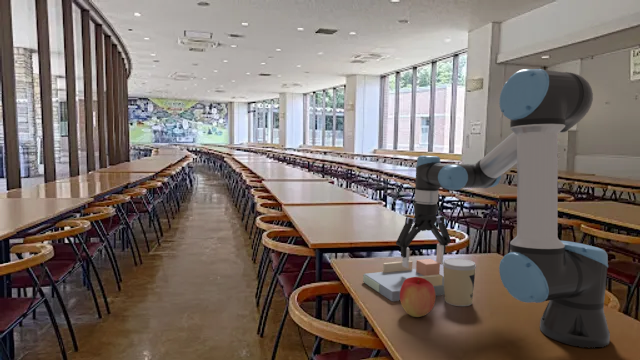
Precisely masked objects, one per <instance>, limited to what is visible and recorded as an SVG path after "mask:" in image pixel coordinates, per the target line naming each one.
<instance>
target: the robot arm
mask: <svg viewBox="0 0 640 360" xmlns="http://www.w3.org/2000/svg"><path fill="white" fill-rule="evenodd" d="M593 100H594V93H593V89H592V87H591V85H590V83H589V82H588V80H586V79H585V77H583V76H581V75H579V74H577V73H574V72H567V71H565V72H562V71H556V70H550V69H549V70H548V69H542V68H533V69H532V68H525V69H524V68H523V69H520V70H518V71H516V72H514V73H513V74H512V75H510V77H508V79H507V81H506V82H505V83H504V85H503V87H502V89H501V91H500V95H499V103H498V104H499V108H500V112H501V113H502V114H503V116H504V117H505V118H507V119H509V121H510V122H509V123H510V129H509V130H511V132H512V133H510V134H509V135H508V136H506V138H505V139H503V140H502V141H501V142H500V143H499V144H497V145H496V146H495V147H494V148H493V149H492V150H490V151H489V152H487V154H486V155H484V156H483V157H482V158H481V159H479V160H478V161H477V162H476V163H452V164H450V163H441V158H440V156H437V155H419V156H417V159H416V166H415V183H414V184H415V189H414V190H415V191H414V201H415V202H414V204H413V205H414V209H413V213H414V217H410V216H409V217H408V216H406V217H405V221H404V222H405V223H404V224H403V227H402V229H401V232H400V233H399V235H398V238H397V240H396V241H395V244H396V246H399V247H400V256H401V258H402V259H401V260H402V261H401V262H402V266H404V267H406V268H409V261H410V250H411V249H410V248H409V246H410V244H411V243H412V242H413V240H414V239H415V237H416V236H417V235H418V234H419V233H420V232H421V231H422V232H425V231H430V232H431V233H432V234H433V236H434V237H435V238H436V240H437V241H438V243H437V244H436V259H435V261H436V262H438V263H440V266H441V265H442V266H443V262H444V255H445V254H446V246H448V245H449V244H450V243H451V242H452V240H451V237H450V234H449V232H448V229H447V225H446V224H445V223H446V222H445V221H446V220H445V216H442V215H438V208H439V207H438V202H439V190H440V188H441V189H446V190H448V191H449V190H450V191H459V190H462V189H489V188H494V187H496V186H498V185H499V183H500V181H501V179H502V175H503V174H504V173H506V172H507V171H508V170H510V169H511V168H513V167H514V166H515V165H516V174H517V175H516V178H517V179H516V195H517V196H516V236H515V237H514V238H513V239H512V240H510V243H509V246H510V247H509V252H508V253H506V254H505V255H503V257H502V258H501V260H500V261H499V267H498V269H499V270H498V272H499V277H500V280H501V283H502V285H503V287H504V288H505V289H506V290H507V292H508V293H509V295H510V296H512V297H513V299H515V300H517V301H520V302H522V303H527V304H528V303H537V304H538V303H544V302H548V303H547V305H546V307H545V310H544V311H543V314H542V316H541V317H540V321H539V330H540V331H541V333H542V334H544V335H545V336H547V337H549V338H550V339H552V340H554V341H557V342H560V343H562V344H566V345H569V346H573V347H577V346H579V347H578V348H584V347H588V348H587V349H596V348H595V347H602V348H605V347H607V346H608V345H609V344H610V338H611V337H610V336H611V332H610V330H609V327H608V323H607V321H608V320H607V318H606V315H605V314H606V313H605V311H604V310H605V308H604V306H605V296H606V289H607V288H606V286H607V275H608V268H609V264H608V263H609V261H608V259H609V258H608V257H609V256H608V253H607V251H605V250H604V249H603V248H600V247H596V246H592V245H590V244H585V243H580V242H576V241H575V242H574V241H569V240H560V239H559V237H558V224H559V223H558V218H559V217H558V213H559V212H558V210H559V209H558V208H559V207H558V193H559V190H558V188H559V187H558V185H559V184H558V181H559V180H558V179H559V177H558V176H559V175H558V172H559V171H558V170H559V167H558V165H559V163H558V161H559V160H558V158H559V156H558V154H559V153H558V152H559V151H558V150H559V148H558V147H559V146H558V145H559V144H558V141H559V138H558V135H559V134H563V133H566V132H568V131H569V130H570V129H572V128H573V127H574V126H576V125H577V124H578V123H579V122H581V120H582V119H584V117H585V116H587V114H588V112H589V111H590V110H591V107H592V104H593ZM436 223H437V225H438V227H437V225H436ZM606 345H607V346H606ZM604 346H605V347H604ZM590 347H592V348H590ZM593 347H594V348H593Z"/></svg>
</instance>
